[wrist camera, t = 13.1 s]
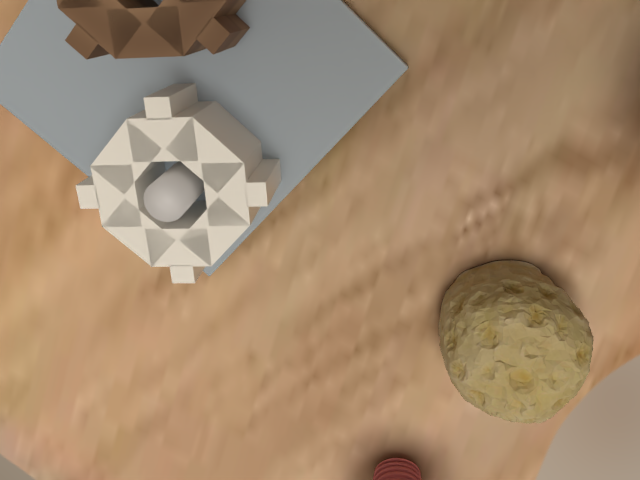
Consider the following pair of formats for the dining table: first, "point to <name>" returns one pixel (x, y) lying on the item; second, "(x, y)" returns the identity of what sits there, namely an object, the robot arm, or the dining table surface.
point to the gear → (202, 159)
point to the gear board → (205, 90)
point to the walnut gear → (152, 27)
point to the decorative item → (514, 341)
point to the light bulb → (397, 470)
